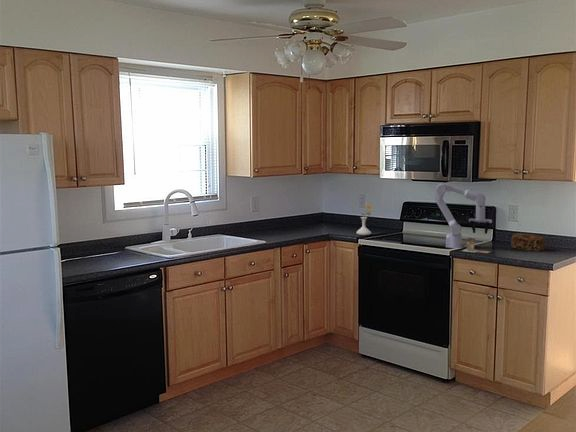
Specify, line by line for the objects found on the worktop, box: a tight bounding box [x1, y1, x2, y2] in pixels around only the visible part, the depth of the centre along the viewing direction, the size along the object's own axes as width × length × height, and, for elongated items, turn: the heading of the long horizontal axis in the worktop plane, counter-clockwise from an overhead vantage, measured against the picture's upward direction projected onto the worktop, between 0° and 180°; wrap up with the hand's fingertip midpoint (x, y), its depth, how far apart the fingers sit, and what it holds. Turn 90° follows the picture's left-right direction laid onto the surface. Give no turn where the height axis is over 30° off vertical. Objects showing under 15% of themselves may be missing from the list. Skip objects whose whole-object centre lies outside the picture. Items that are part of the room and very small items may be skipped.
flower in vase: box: [356, 202, 374, 236], centre depth 427 cm, size 13×11×25 cm
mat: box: [461, 248, 481, 253], centre depth 355 cm, size 9×9×1 cm
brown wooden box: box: [466, 237, 476, 251], centre depth 354 cm, size 4×2×8 cm, turn 53°
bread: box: [510, 232, 546, 252], centre depth 362 cm, size 19×11×10 cm, turn 44°
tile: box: [477, 249, 492, 254], centre depth 350 cm, size 6×1×7 cm
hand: (480, 233), depth 363 cm, fingers open, 7 cm apart
